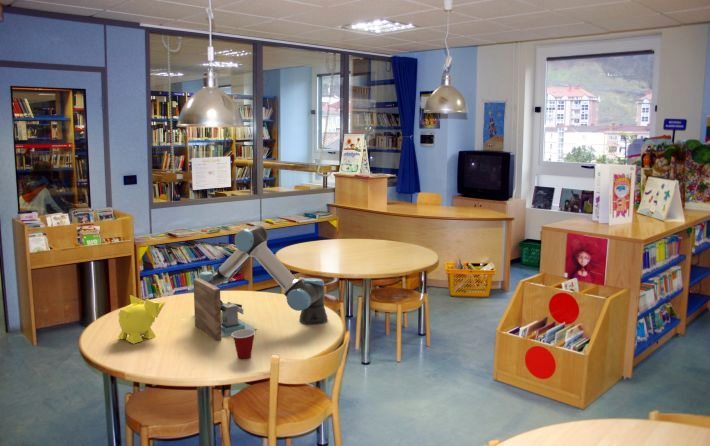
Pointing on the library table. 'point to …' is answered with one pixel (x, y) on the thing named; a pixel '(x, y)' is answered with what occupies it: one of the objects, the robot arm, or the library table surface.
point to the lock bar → (229, 315)
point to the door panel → (207, 308)
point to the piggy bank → (138, 319)
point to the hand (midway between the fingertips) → (230, 314)
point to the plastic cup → (243, 342)
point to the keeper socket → (235, 328)
